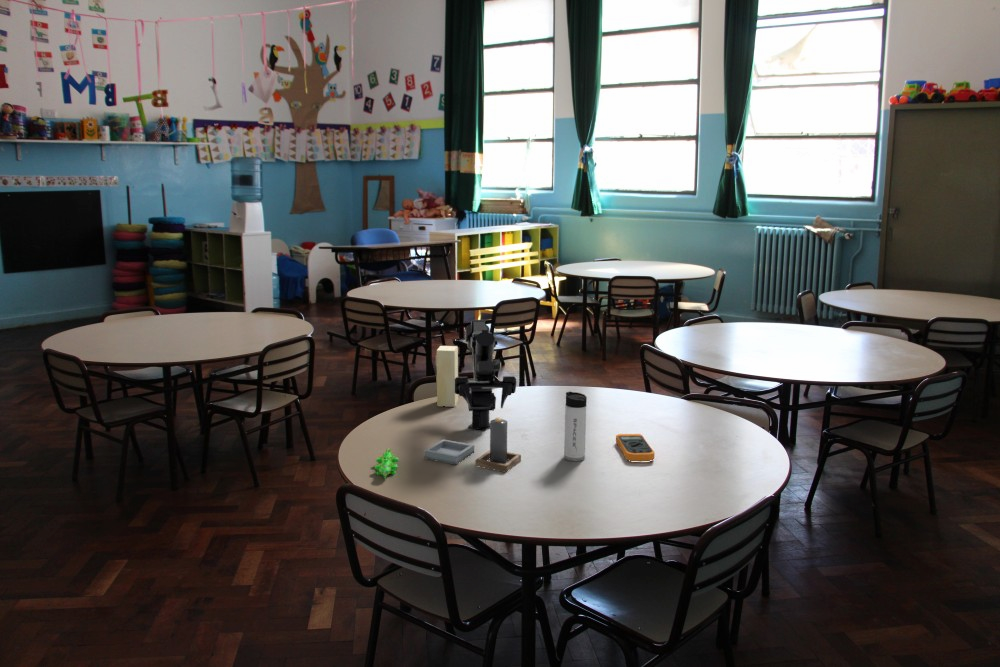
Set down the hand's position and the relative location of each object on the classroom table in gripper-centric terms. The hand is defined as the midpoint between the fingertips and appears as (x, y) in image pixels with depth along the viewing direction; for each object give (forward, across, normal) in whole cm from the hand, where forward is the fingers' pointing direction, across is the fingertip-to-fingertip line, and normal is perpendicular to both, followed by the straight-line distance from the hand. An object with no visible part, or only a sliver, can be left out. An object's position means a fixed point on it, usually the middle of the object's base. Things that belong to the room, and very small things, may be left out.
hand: (486, 407), depth 236 cm
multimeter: (+10, +46, +12) cm, 48 cm away
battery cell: (+15, +3, +7) cm, 17 cm away
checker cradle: (+15, +3, +7) cm, 17 cm away
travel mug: (+12, +26, +10) cm, 30 cm away
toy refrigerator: (-32, -11, +44) cm, 56 cm away
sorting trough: (+9, -11, +12) cm, 19 cm away
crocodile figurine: (+17, -29, +6) cm, 35 cm away
